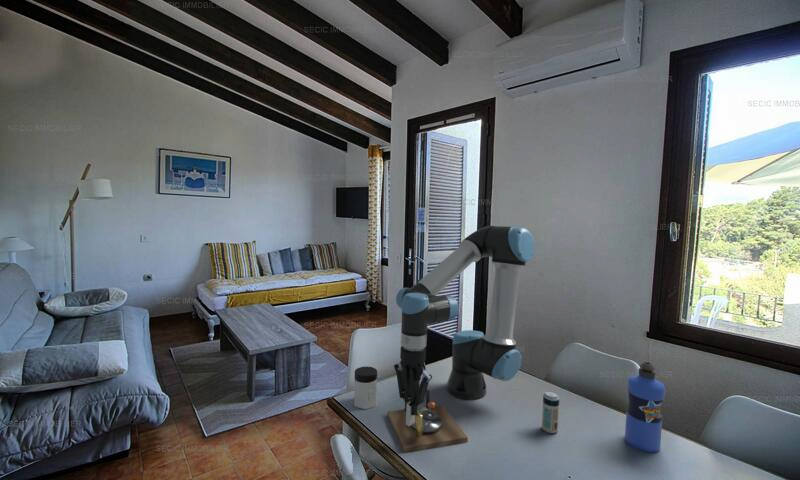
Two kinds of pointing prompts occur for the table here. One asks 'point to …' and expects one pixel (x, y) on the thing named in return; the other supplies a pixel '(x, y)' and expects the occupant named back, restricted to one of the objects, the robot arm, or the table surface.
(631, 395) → the water bottle
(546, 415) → the supplement bottle
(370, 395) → the jar
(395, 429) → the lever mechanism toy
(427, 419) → the grey metal domed piece
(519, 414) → the table surface
